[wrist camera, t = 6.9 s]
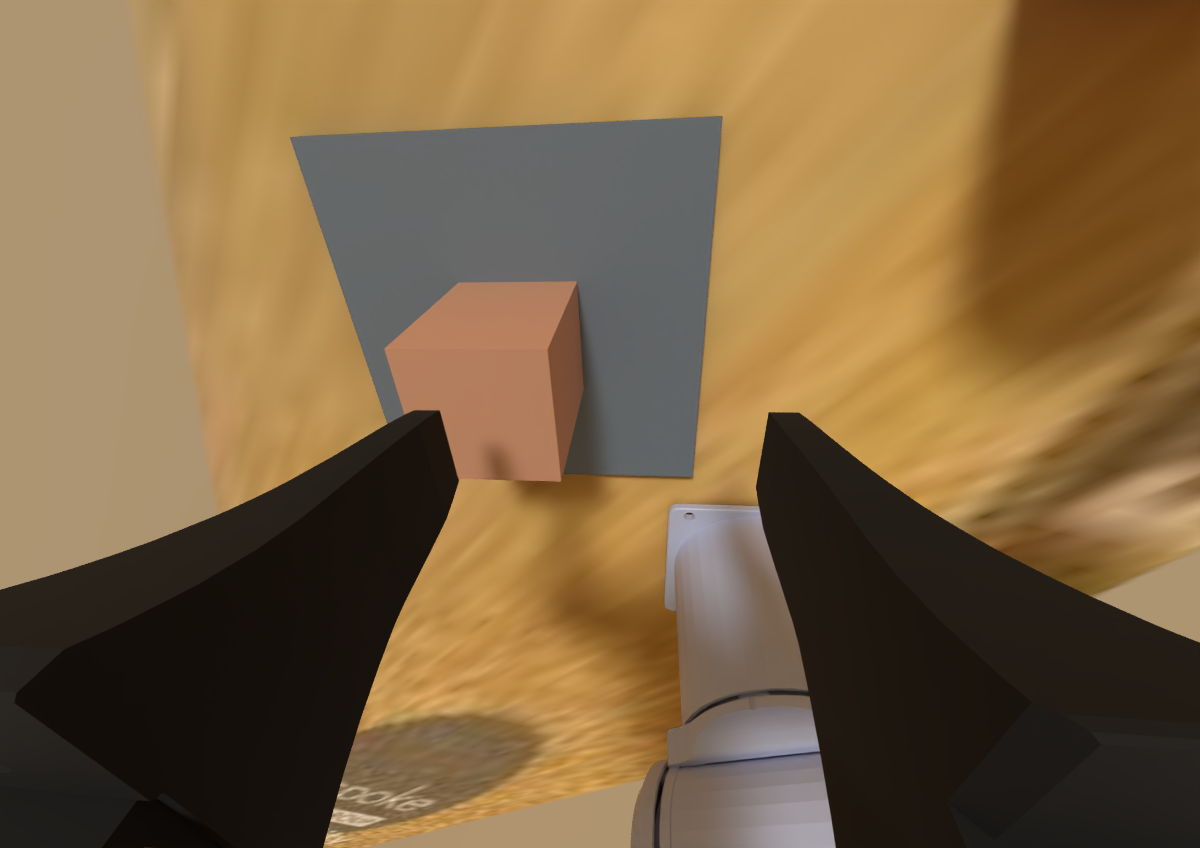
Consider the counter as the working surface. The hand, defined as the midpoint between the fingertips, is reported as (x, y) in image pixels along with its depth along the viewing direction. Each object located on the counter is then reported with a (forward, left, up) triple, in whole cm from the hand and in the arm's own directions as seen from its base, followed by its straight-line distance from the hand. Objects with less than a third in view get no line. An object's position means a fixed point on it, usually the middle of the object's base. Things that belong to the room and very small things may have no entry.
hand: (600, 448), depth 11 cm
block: (+4, +1, -9) cm, 10 cm away
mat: (+4, +1, -9) cm, 10 cm away
